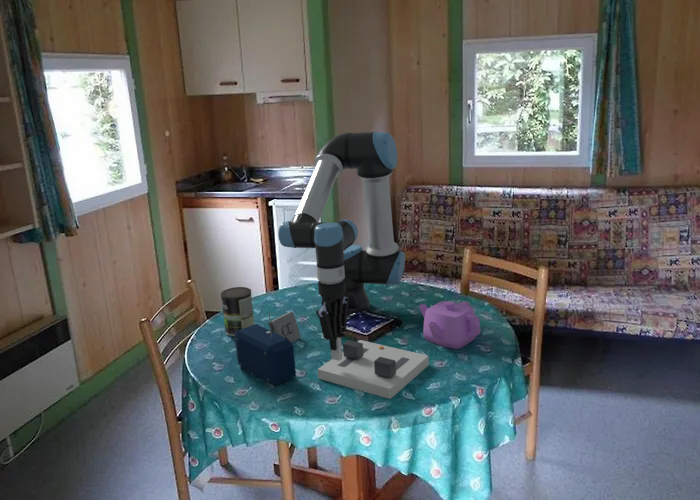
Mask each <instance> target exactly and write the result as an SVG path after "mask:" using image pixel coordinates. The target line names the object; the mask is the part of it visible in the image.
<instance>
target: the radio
mask: <svg viewBox="0 0 700 500" xmlns="http://www.w3.org/2000/svg"><path fill="white" fill-rule="evenodd" d="M268 319H269V322H270V327H269V329H268V328H266V327H264V326H261V325H259V324H257V323H254V325H252V326H249V327H246V328H243V329H241V330H238V331H236V332H234V335H235V336H234V340H235V341H234V342H235V350H236V359H237V363H238V365H239V366H240V367H241V368H242V369H244V371H248V372H249V373H251V374H252V375H254V376H256V377H258V378H260V380H261V379H262V380H263V381H264V382H266V383H268V384H270V385H271V386H273V387H274V386H276V385H280V384H281V383H284V382H285V381H288V380H290V379H292V378H295V377H297V372H296V371H297V370H296V361H295V349H294V345H293V342H292V343H291V342H290V341H289V339H287V338H285V337H283V336H281V335H279V334H277V333H274V332H272V331H271V315H270V313H269V314H268Z"/></svg>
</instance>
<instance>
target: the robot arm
mask: <svg viewBox="0 0 700 500" xmlns="http://www.w3.org/2000/svg"><path fill="white" fill-rule="evenodd" d="M395 141H396V140H395V139H394V137H393V136H392V135H391V133H390V132H382V131H381V132H379V131H369V132H368V131H367V132H366V131H365V132H343V133H340V134H338V135H336V136H334V137H333V138H331V139H330V140H328V141H327V142H326V143H325V144H324V145H323V146H322V147H321V148H320V150H319V151H318V153H316V156H315V158H314V161H313V165H314V169H313V171H312V174H311V176H310V178H309V180H308V181H307V184H306V187H305V190H304V192H303V195H302V196H301V199H300V201H299V204H298V206H297V209H296V210H295V213H294V215H293V217H292V219H291V220H288V221H283V222H281V223H280V225H279V227H278V232H277V233H278V234H277V235H278V236H277V237H278V241H279V243H280V245H281V246H283V247H284V248H292V249H293V248H294V249H301V248H302V249H315V257H316V258H315V259H316V275H317V278H316V279H317V280H318V282H317V287H318V294H319V295H320V297H321V298H322V299H321V303H320V304H321V307H320V309H316V312H315V313H316V315H317V317H318V319H319V323H320V327H321V330H322V335H323V336H322V337H323V338H324V339H325V340H329V349H330V356H331V360H332V359H334V360H338V361H340V360H341V359H342V352H343V341H342V340H343V339H342V338H344V337H346V334H345V333H346V332H347V326H348V325H347V324H348V316H347V315H350V314H353V313H358V312H363V311H366V312H365V313H367V312H368V311H369V310H370V309H371V304H370V302H371V301H370V299H369V296H368V294H367V291H366V289H365V284H371V285H372V284H374V285H385V286H386V285H387V286H388V285H390V286H391V285H392V286H393V285H398V284H399V283H400V282H401V281H402V278H403V275H404V270H405V263H406V255H405V254H406V253H405V252H404V251H400V246H399V244H398V243H396V242H395V239H394V228H393V227H394V226H393V217H392V215H393V214H392V204H391V203H392V202H391V191H390V181H389V179H390V176H392V174H393V172H394V171H393V169H395V168H396V167H397V165H398V150H397V145H396V142H395ZM347 169H351V170H356V173H357V177H358V178H359V179H361V180H362V185H363V186H362V187H363V196H364V205H365V206H364V207H365V215H366V216H365V217H366V226H367V235H368V245H367V246H366V247H365V249H363V247H362V246H361V245H360V244H354V243H355V241H357V238H358V237H359V235H358V233H359V231H358V228H357V227H358V226H357V225H356V224H355V223H354V222H353V221H352V220H349V219H339V220H337V222H325V221H324V222H320V220H321V217H322V214H323V213H324V210H325V208H326V204H327V202H328V199H329V197H330V194H331V192H332V190H333V187H334V185H335V182H336V179H337V177H339V176H340V175H342V173H343V171H344V170H347Z"/></svg>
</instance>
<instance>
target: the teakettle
mask: <svg viewBox="0 0 700 500" xmlns="http://www.w3.org/2000/svg"><path fill="white" fill-rule="evenodd" d="M470 305H471V304H470V302H469V301H466V300H463V301H461V302H459V303H458V302H454V301H450V300H449V301H448V300H442V301H439V302H437V303H436V304H434V305H432V306H430V307H428V306H427V304H423V303H422V304H419V305H418V307H419V309H420V312H421V314H422V317H423V318H424V320H423V331H422V333H423V337H424V340H425V341H427V342H429V343H432V344H435V345H438V346H441V347H445V348H450V349H453V350H459V349H461V348H464V347H465V346H467V345H469V344H470V343H471V342H473V341H475V339H476V338H477V336H479V335H480V334H481V323H480V316H478V315H476V313H475V310H474V308H473V307H472V306H470Z"/></svg>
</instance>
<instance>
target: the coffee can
mask: <svg viewBox="0 0 700 500" xmlns="http://www.w3.org/2000/svg"><path fill="white" fill-rule="evenodd" d="M252 297H253V296H252V289H251V288H249V287H245V286H235V287H230V288H227V289H224V290H223V291H221V292H220V298H221V305H222V313H223V322H224V330H225V334H226V335H227V336H230V337H235V335H234V332H236V331H238V330H241V329H243V328H246V327H249V326H252V325H254V324H255V317H254V307H253V299H252Z"/></svg>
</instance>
